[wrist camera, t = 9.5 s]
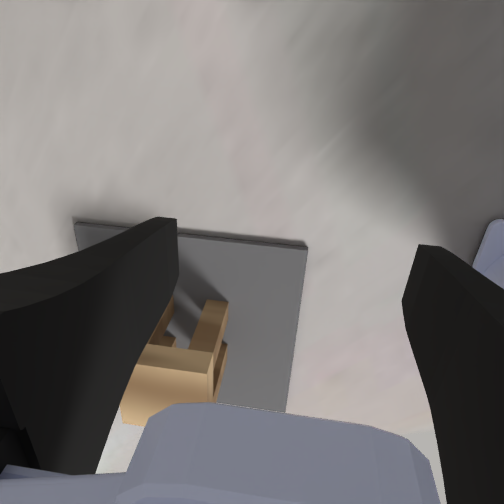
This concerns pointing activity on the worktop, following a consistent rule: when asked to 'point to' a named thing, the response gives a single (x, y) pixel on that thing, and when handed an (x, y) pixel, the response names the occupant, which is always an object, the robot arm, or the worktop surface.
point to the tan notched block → (178, 366)
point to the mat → (236, 308)
